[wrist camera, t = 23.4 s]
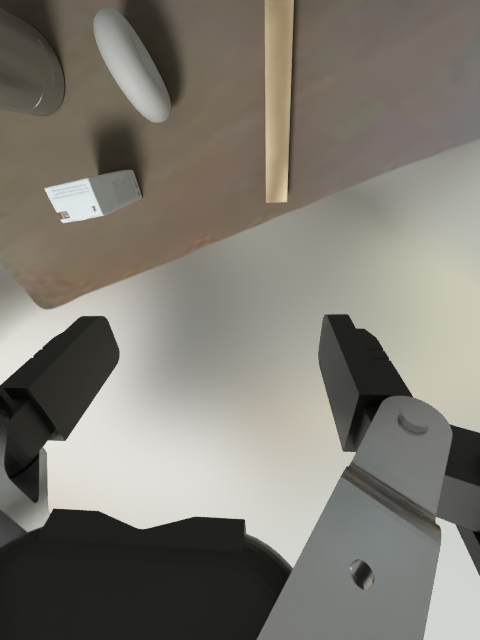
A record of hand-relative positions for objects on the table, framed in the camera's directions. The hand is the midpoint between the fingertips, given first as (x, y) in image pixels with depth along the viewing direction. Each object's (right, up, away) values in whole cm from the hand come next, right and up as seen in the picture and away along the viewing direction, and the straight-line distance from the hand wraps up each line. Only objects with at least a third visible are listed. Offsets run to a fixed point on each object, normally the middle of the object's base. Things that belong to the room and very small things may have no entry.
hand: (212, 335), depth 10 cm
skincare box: (-18, +21, +31) cm, 41 cm away
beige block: (+6, +29, +25) cm, 38 cm away
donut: (-10, +31, +24) cm, 41 cm away
